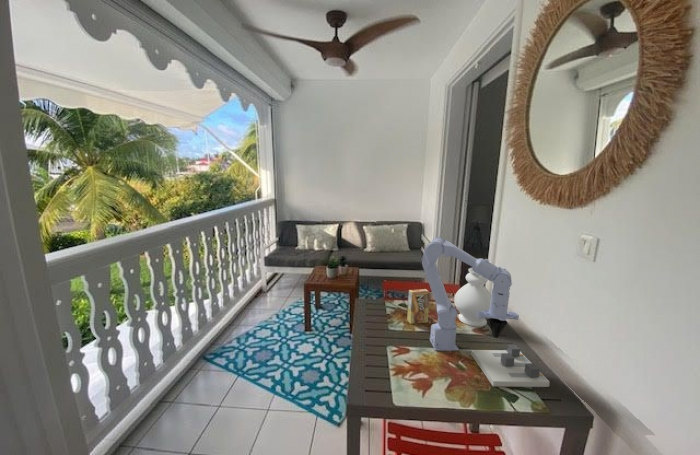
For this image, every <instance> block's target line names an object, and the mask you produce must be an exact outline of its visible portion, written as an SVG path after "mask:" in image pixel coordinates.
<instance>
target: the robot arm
mask: <svg viewBox="0 0 700 455" xmlns="http://www.w3.org/2000/svg"><path fill="white" fill-rule="evenodd" d="M442 255H443V258H446V257H453V258H455V259H456V260H459V261H461V262H463V263H465V264H466V265H468V266H470V267H471V268H473V271H474V272H476V273H477V274H479V275H481V276H483V277H484V278H486V279H488V281H489V282H492V283H493V287H492V289H491V302H490V310H488V311H482V312H477V318H478V319H482V318H485V319H487V320H488V323H489V326H490V330H491V336H492V337H493V338H496V339H498V338H499V336H500V334H501V332H502V331H503V329H504V328H505V327H506V326H507V325H508V321H507V320H515V321H519V317H520V315H519V314H518V313H517V312H511V311H510V312H509V311H508V306H509V301H510V300H509V299H510V290H511V287H512V284H513V282H512V275H511V273H510V272H509V270H507V269H506V268H502V267H501V266H496V265H494V264H493V263H491V262H490V260H489V259H488V258H485V259H484V258H476V257H475V256H474V255H473V256H472V255H471V254H469V253H468V252H466V251H465V250H463V249H462V248H459V247H458V246H456V245H455V244H453V243H452V242H450V241H449V240H445V239H444V238H443V237H441V236H439V237H434V238H433V239H432V240H431V241H430V242H428V244H427V245H426V247H424V249H423V255H422V258H421V264H422V269H423V271H424V275H425V276H426V280H427V281H428V284H429V287H430V289H431V290H430V291H431V292H432V296H433V298H434V300H435V304H436V314H437V322H435V323H432V324H431V326H430V335H429V341H430V344H431V345H432V347H433V349H434V350H435V351H453V352H455V351H456V352H457V351H459V347H458V346H457V345H456V337H457V323H456V320H457V317H458V315H459V314H458V309H457V307H456V306H454V305H453V303H452V301H451V300H450V299H449V297H448V294H447V291H446V289H445V286H444V283H443V281H442V280H443V279H442V277H441V274H440V272H439V269H438V267H437V262H438V259H439V258H440V257H441V256H442Z"/></svg>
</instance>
